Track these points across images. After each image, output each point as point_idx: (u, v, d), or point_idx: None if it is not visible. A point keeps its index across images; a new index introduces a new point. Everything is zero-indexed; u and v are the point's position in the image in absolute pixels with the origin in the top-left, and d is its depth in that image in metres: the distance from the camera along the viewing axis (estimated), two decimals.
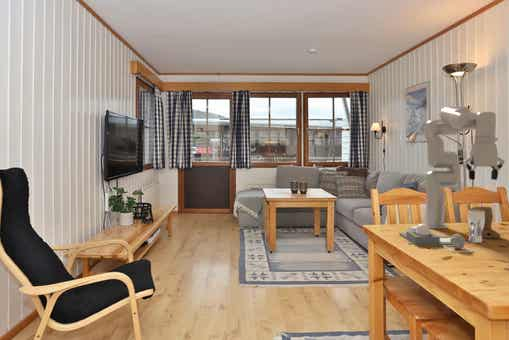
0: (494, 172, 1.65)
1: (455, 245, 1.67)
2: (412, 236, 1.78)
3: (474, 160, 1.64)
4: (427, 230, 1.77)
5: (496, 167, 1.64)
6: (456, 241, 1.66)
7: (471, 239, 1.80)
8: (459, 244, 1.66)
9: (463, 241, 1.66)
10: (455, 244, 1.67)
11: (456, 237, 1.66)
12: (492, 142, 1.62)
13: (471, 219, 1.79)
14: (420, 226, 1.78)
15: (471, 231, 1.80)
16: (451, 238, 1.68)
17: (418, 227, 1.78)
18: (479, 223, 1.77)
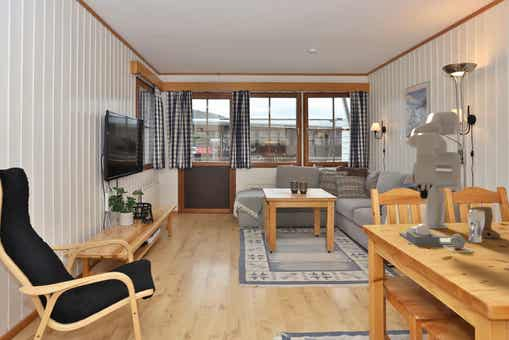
0: None
1: (455, 245, 1.67)
2: (412, 236, 1.78)
3: (415, 178, 1.76)
4: (427, 230, 1.77)
5: (428, 186, 1.77)
6: (456, 241, 1.66)
7: (471, 239, 1.80)
8: (459, 244, 1.66)
9: (463, 241, 1.66)
10: (455, 244, 1.67)
11: (456, 237, 1.66)
12: (431, 161, 1.74)
13: (471, 219, 1.79)
14: (420, 226, 1.78)
15: (471, 231, 1.80)
16: (451, 238, 1.68)
17: (418, 227, 1.78)
18: (479, 223, 1.77)
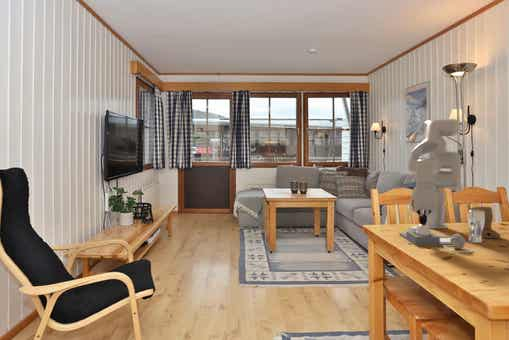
0: None
1: (455, 245, 1.67)
2: (412, 236, 1.78)
3: (414, 204, 1.77)
4: (427, 230, 1.77)
5: (427, 212, 1.77)
6: (456, 241, 1.66)
7: (471, 239, 1.80)
8: (459, 244, 1.66)
9: (463, 241, 1.66)
10: (455, 244, 1.67)
11: (456, 237, 1.66)
12: (430, 188, 1.74)
13: (471, 219, 1.79)
14: (420, 226, 1.78)
15: (471, 231, 1.80)
16: (451, 238, 1.68)
17: (418, 227, 1.78)
18: (479, 223, 1.77)
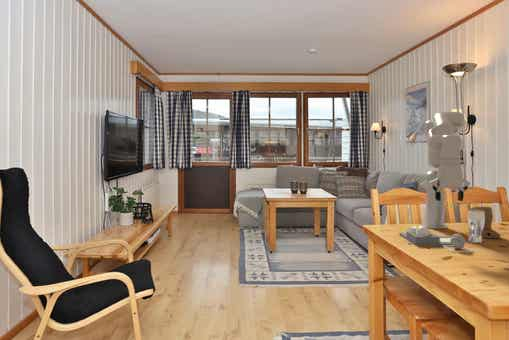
0: (460, 193, 1.69)
1: (455, 245, 1.67)
2: (412, 236, 1.78)
3: (440, 182, 1.68)
4: (427, 232, 1.77)
5: (462, 189, 1.68)
6: (456, 241, 1.66)
7: (471, 239, 1.80)
8: (459, 244, 1.66)
9: (463, 241, 1.66)
10: (455, 244, 1.67)
11: (456, 237, 1.66)
12: (457, 164, 1.65)
13: (471, 219, 1.79)
14: (420, 228, 1.78)
15: (471, 231, 1.80)
16: (451, 238, 1.68)
17: (418, 229, 1.79)
18: (479, 223, 1.77)
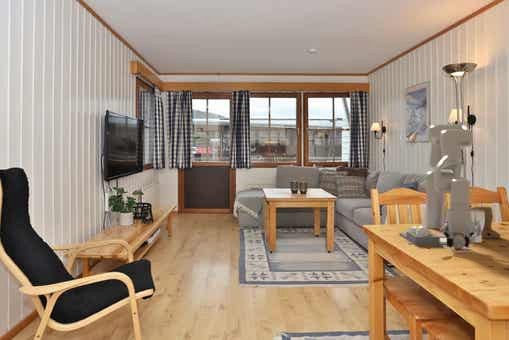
0: (466, 240, 1.68)
1: (455, 245, 1.67)
2: (412, 236, 1.78)
3: (449, 226, 1.66)
4: (427, 232, 1.77)
5: (468, 235, 1.67)
6: (456, 241, 1.66)
7: (471, 239, 1.80)
8: (459, 244, 1.66)
9: (463, 241, 1.66)
10: (455, 244, 1.67)
11: (456, 237, 1.66)
12: (466, 210, 1.64)
13: None
14: (420, 228, 1.78)
15: None
16: None
17: (418, 229, 1.79)
18: (479, 223, 1.77)
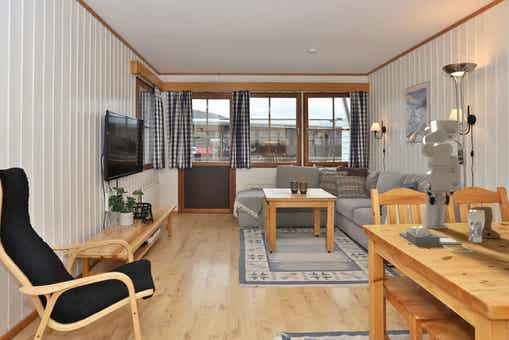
0: (446, 198, 1.86)
1: (437, 203, 1.85)
2: (412, 236, 1.78)
3: (431, 186, 1.84)
4: (427, 232, 1.77)
5: (448, 193, 1.85)
6: (438, 199, 1.84)
7: (471, 239, 1.80)
8: (440, 202, 1.84)
9: (444, 199, 1.84)
10: (437, 202, 1.85)
11: (438, 195, 1.84)
12: (446, 171, 1.81)
13: (471, 219, 1.79)
14: (420, 228, 1.78)
15: (471, 231, 1.80)
16: None
17: (418, 229, 1.79)
18: (479, 223, 1.77)
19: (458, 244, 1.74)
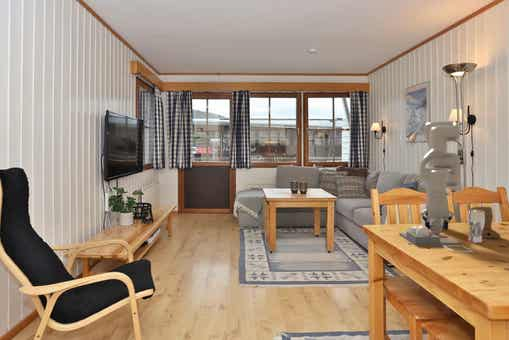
0: (445, 223, 1.88)
1: (433, 231, 1.88)
2: (412, 236, 1.78)
3: (428, 212, 1.87)
4: (427, 232, 1.77)
5: (446, 219, 1.87)
6: (434, 227, 1.87)
7: (471, 239, 1.80)
8: (437, 230, 1.87)
9: (440, 227, 1.87)
10: (433, 230, 1.88)
11: (434, 224, 1.87)
12: (443, 197, 1.85)
13: (471, 219, 1.79)
14: (420, 228, 1.78)
15: (471, 231, 1.80)
16: (430, 225, 1.89)
17: (418, 229, 1.79)
18: (479, 223, 1.77)
19: (458, 244, 1.74)
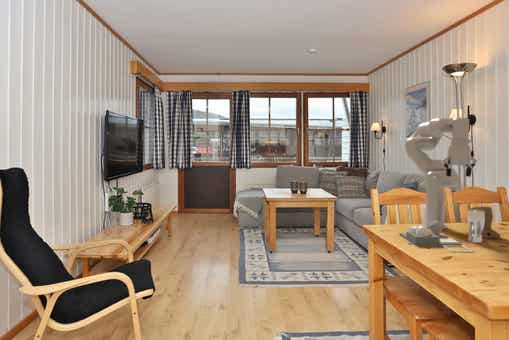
0: (468, 170, 1.90)
1: (433, 231, 1.88)
2: (412, 236, 1.78)
3: (450, 159, 1.89)
4: (427, 232, 1.77)
5: (469, 165, 1.89)
6: (434, 227, 1.87)
7: (471, 239, 1.80)
8: (437, 230, 1.87)
9: (440, 227, 1.87)
10: (433, 230, 1.88)
11: (434, 224, 1.87)
12: (466, 144, 1.86)
13: (471, 219, 1.79)
14: (420, 228, 1.78)
15: (471, 231, 1.80)
16: (430, 225, 1.89)
17: (418, 229, 1.79)
18: (479, 223, 1.77)
19: (458, 244, 1.74)
